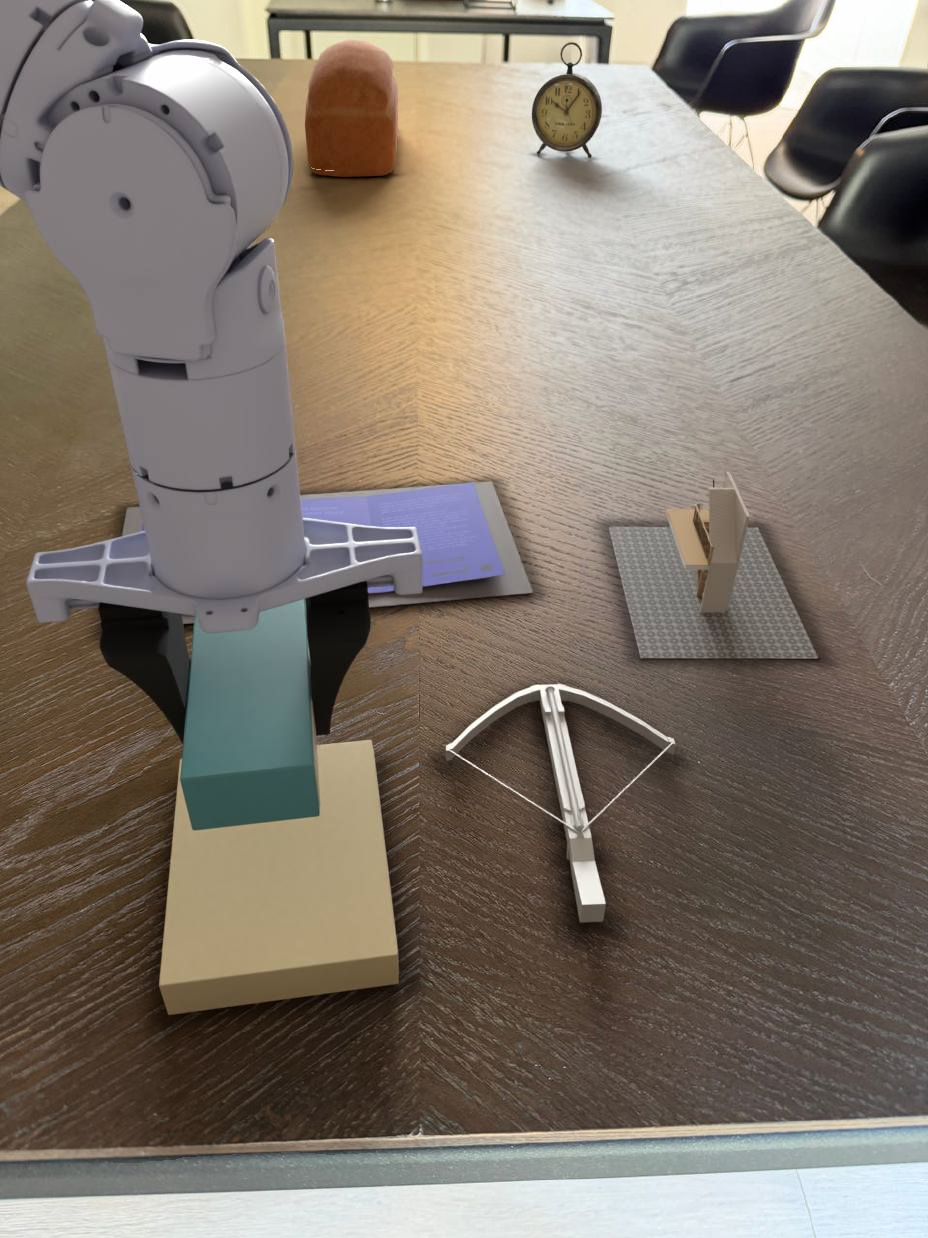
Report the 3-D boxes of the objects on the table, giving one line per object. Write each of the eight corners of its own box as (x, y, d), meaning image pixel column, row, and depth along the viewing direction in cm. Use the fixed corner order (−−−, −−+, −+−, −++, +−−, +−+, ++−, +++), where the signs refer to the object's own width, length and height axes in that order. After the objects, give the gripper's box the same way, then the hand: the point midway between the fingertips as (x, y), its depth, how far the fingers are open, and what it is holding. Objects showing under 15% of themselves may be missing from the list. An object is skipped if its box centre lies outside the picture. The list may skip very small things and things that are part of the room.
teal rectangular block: (192, 832, 38) (179, 780, 36) (205, 652, 47) (195, 602, 45) (321, 817, 39) (315, 765, 37) (311, 642, 47) (305, 593, 45)
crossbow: (441, 707, 58) (441, 680, 57) (649, 701, 59) (654, 674, 58) (456, 929, 45) (456, 900, 44) (723, 918, 46) (731, 889, 44)
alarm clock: (528, 156, 159) (535, 42, 149) (534, 148, 163) (540, 37, 153) (595, 161, 157) (606, 46, 147) (599, 153, 161) (609, 41, 151)
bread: (305, 177, 146) (296, 60, 137) (321, 128, 172) (314, 25, 162) (396, 178, 147) (394, 61, 137) (399, 129, 172) (397, 27, 163)
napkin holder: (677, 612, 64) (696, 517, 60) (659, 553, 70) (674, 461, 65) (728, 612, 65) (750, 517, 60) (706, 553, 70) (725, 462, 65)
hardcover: (168, 1017, 42) (158, 986, 40) (187, 791, 52) (179, 758, 50) (400, 986, 43) (399, 954, 42) (374, 771, 53) (372, 739, 52)
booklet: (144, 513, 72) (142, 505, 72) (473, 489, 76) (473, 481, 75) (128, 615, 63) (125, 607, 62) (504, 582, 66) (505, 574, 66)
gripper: (-32, 526, 30) (70, 813, 38) (433, 496, 32) (432, 776, 40) (14, 421, 35) (94, 693, 44) (409, 401, 37) (412, 665, 46)
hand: (256, 725), depth 43 cm, fingers closed on teal rectangular block, 5 cm apart
